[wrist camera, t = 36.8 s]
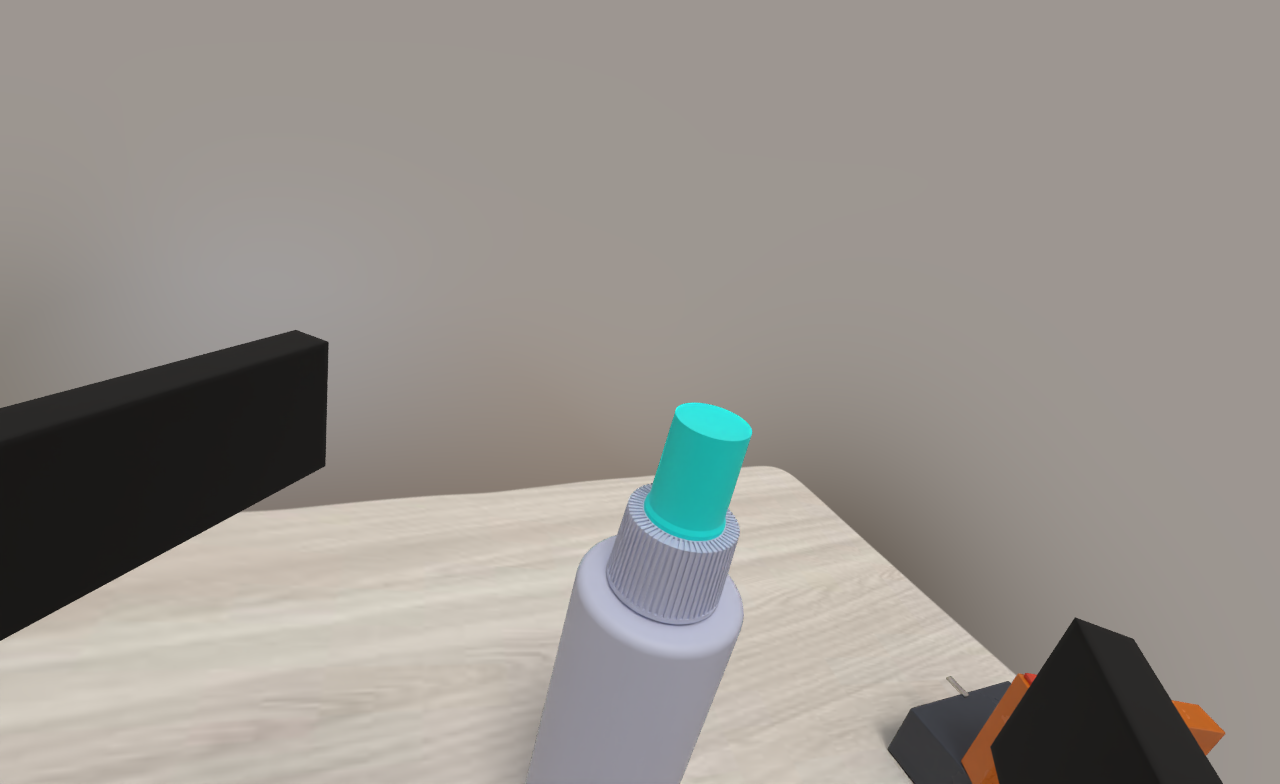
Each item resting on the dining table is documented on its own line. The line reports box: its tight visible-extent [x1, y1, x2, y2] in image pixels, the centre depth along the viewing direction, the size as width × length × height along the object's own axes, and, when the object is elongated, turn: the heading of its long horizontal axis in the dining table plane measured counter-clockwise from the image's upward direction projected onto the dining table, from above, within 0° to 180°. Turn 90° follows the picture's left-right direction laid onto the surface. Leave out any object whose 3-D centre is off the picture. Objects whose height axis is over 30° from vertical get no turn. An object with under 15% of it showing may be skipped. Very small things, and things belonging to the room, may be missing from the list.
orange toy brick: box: [961, 673, 1225, 784], centre depth 31 cm, size 10×2×7 cm, turn 91°
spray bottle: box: [525, 403, 752, 784], centre depth 23 cm, size 6×6×22 cm
